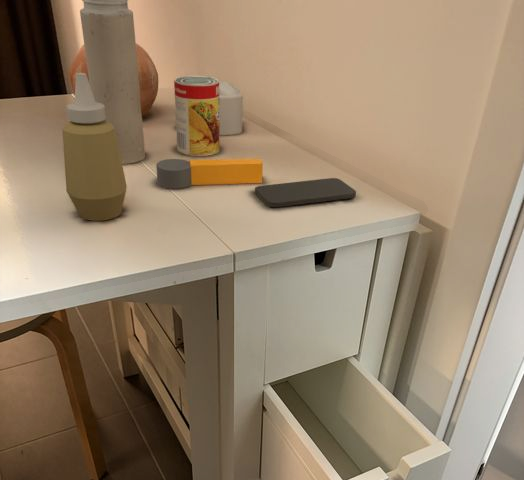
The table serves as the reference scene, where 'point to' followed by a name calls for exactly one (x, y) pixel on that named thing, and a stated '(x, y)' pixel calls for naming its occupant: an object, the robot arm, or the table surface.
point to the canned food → (197, 115)
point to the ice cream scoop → (208, 172)
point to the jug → (145, 74)
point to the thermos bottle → (115, 71)
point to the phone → (304, 192)
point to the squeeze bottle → (92, 157)
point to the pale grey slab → (230, 109)
